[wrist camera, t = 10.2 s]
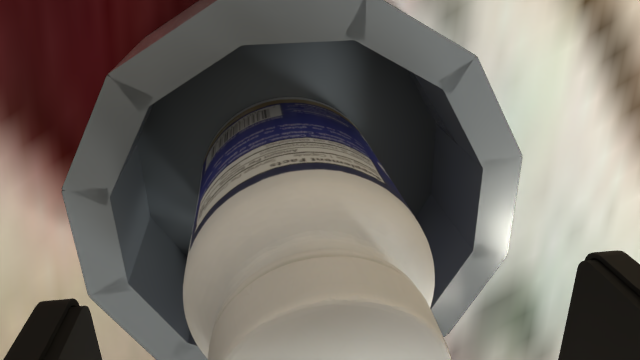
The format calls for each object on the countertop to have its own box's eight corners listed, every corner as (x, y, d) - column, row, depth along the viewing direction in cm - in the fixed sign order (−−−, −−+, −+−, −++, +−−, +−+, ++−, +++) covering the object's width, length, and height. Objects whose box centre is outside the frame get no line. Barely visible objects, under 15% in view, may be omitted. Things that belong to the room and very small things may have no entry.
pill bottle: (363, 246, 18) (463, 500, 10) (205, 250, 17) (172, 528, 9) (379, 92, 15) (525, 257, 7) (198, 89, 15) (146, 269, 7)
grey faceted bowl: (501, 195, 19) (572, 265, 15) (247, 343, 20) (248, 445, 16) (352, -104, 14) (396, -121, 10) (33, 113, 15) (-42, 174, 11)
